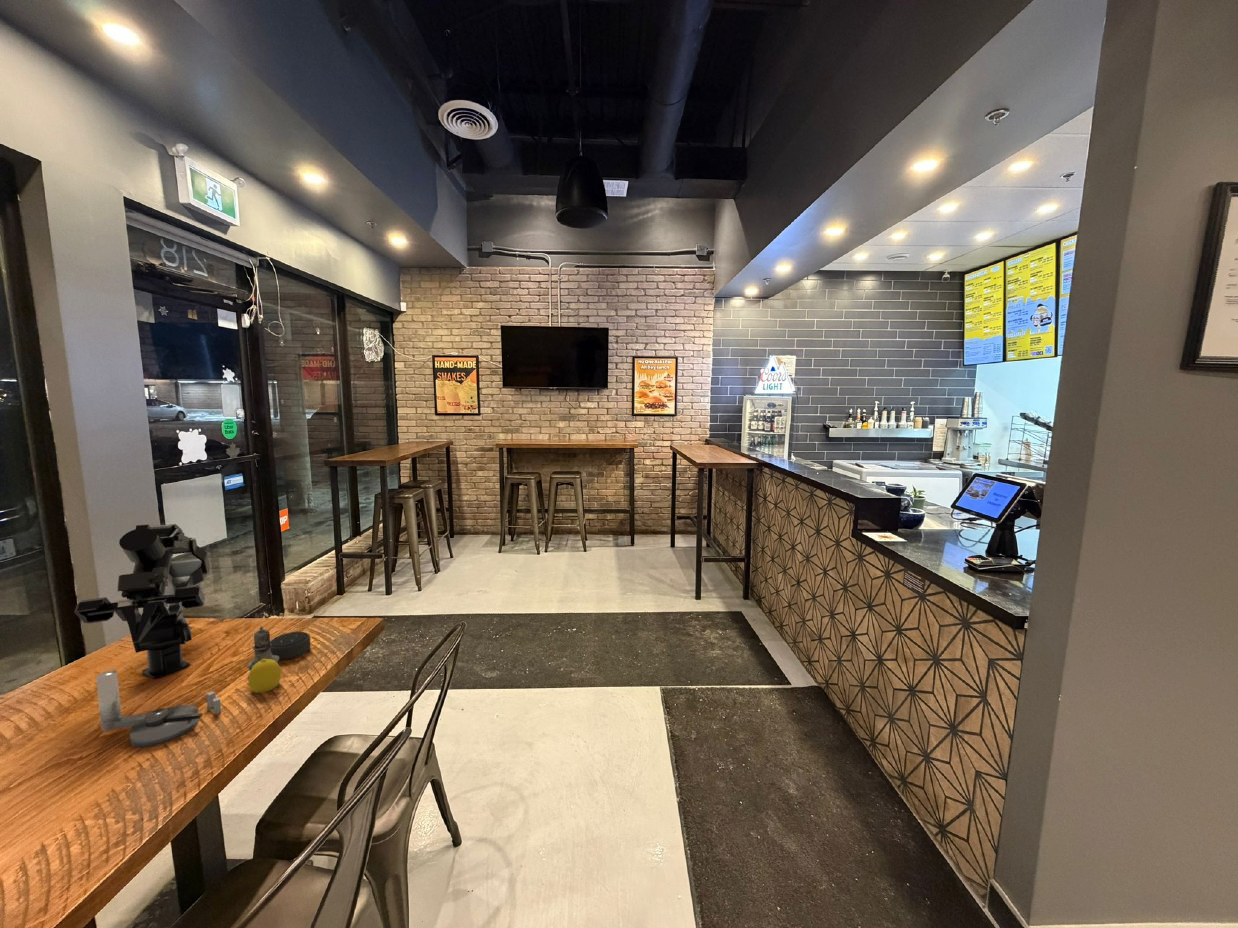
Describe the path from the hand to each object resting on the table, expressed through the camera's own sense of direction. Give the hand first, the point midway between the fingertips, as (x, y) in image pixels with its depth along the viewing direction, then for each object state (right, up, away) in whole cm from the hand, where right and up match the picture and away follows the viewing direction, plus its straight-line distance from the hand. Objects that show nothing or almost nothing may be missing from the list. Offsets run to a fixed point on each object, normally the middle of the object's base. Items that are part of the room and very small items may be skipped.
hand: (136, 641), depth 93 cm
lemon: (+23, -14, +5) cm, 27 cm away
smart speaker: (+15, -12, +23) cm, 30 cm away
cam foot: (+14, -13, -9) cm, 21 cm away
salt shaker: (+17, -13, +12) cm, 25 cm away
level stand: (+14, -15, -9) cm, 22 cm away
